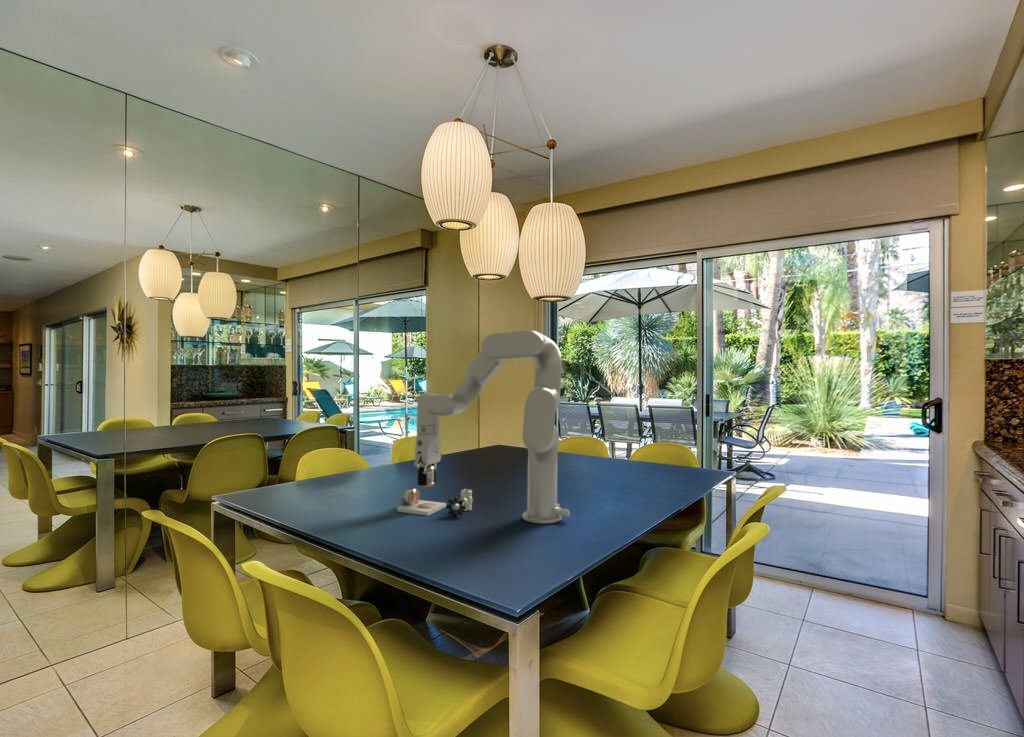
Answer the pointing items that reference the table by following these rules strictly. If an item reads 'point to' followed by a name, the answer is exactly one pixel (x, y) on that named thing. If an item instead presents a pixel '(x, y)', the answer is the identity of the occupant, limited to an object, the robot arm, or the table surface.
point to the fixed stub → (410, 497)
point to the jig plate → (422, 507)
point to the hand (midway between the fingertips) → (426, 482)
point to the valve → (461, 503)
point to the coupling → (429, 475)
